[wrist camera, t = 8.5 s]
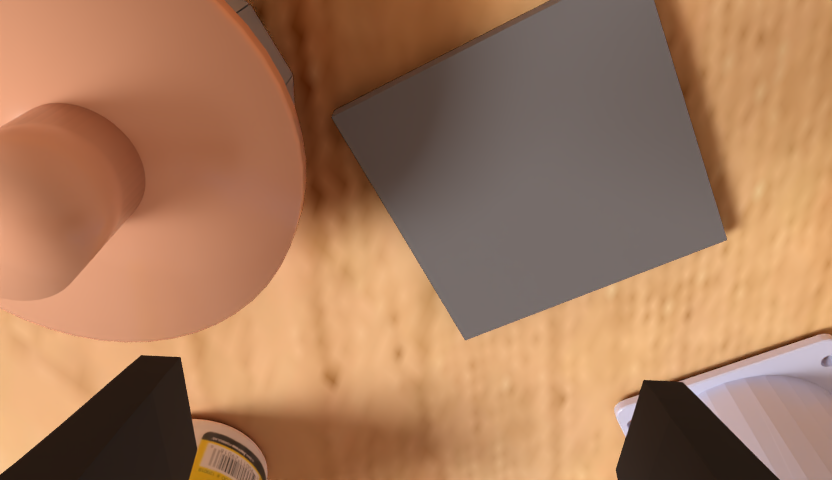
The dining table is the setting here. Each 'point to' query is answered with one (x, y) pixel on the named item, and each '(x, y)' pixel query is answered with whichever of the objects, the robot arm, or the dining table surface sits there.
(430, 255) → the mat
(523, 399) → the dining table surface
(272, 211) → the lid
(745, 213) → the dining table surface
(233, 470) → the supplement bottle
